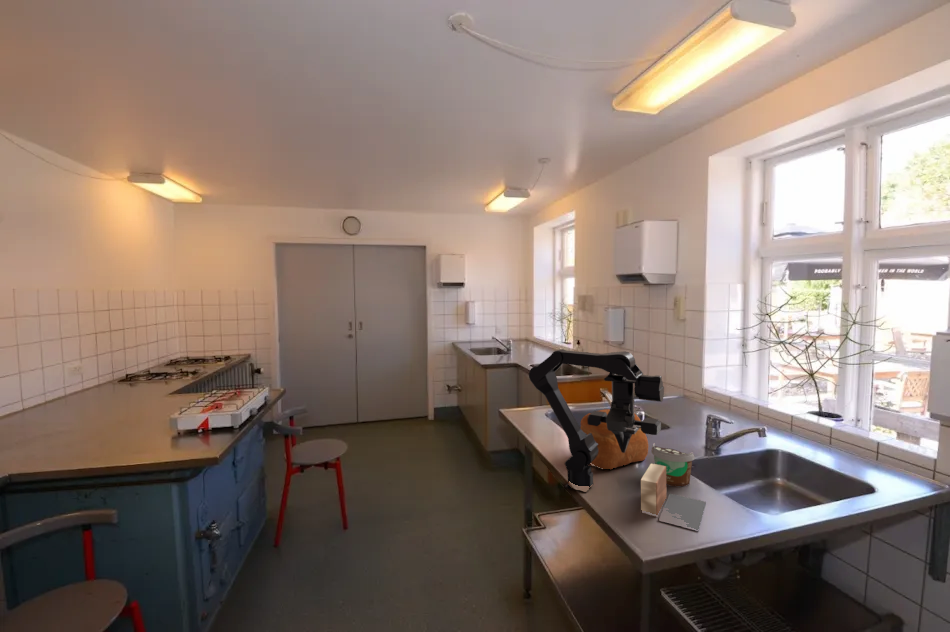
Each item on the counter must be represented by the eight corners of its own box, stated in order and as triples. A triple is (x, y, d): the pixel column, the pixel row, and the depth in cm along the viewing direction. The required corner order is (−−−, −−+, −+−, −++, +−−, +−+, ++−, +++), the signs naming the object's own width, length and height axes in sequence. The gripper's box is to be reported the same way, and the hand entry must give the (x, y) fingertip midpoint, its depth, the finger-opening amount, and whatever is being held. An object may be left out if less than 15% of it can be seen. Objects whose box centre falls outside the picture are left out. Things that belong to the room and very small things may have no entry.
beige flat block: (641, 513, 109) (640, 479, 109) (651, 494, 119) (651, 463, 119) (657, 517, 107) (657, 483, 107) (666, 497, 117) (666, 466, 116)
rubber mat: (657, 521, 105) (657, 519, 105) (669, 494, 118) (669, 493, 118) (698, 532, 100) (698, 530, 100) (705, 503, 113) (705, 501, 113)
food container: (644, 480, 128) (644, 448, 127) (652, 473, 132) (652, 442, 132) (687, 492, 119) (687, 458, 119) (694, 485, 123) (694, 452, 123)
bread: (570, 456, 148) (569, 410, 147) (615, 445, 157) (615, 401, 156) (606, 475, 132) (605, 423, 131) (654, 461, 141) (653, 412, 140)
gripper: (579, 400, 115) (581, 455, 116) (652, 409, 104) (652, 470, 105) (593, 391, 124) (594, 442, 125) (661, 398, 113) (661, 455, 114)
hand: (623, 452), depth 117 cm, fingers closed
